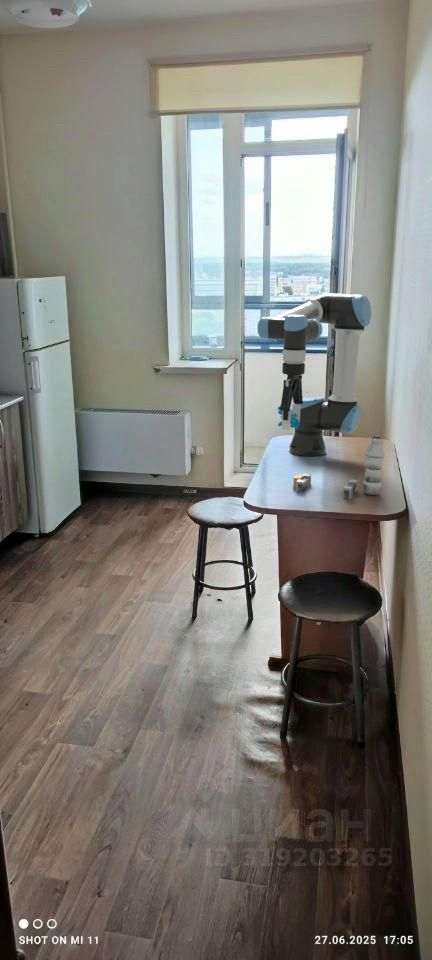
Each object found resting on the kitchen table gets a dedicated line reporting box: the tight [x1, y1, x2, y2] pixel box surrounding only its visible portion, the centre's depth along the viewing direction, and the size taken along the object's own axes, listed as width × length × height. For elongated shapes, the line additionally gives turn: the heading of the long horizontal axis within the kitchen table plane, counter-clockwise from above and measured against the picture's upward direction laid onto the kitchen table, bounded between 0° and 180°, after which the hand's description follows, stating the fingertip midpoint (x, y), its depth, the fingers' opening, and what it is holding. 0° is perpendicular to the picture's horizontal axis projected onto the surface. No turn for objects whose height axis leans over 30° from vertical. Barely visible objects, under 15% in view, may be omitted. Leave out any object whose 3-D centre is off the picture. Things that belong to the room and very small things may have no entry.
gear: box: [277, 404, 300, 430], centre depth 236 cm, size 11×6×10 cm
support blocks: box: [292, 473, 358, 500], centre depth 237 cm, size 10×21×4 cm, turn 67°
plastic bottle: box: [362, 436, 386, 496], centre depth 232 cm, size 6×7×20 cm
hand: (290, 425), depth 235 cm, fingers closed on gear, 11 cm apart
